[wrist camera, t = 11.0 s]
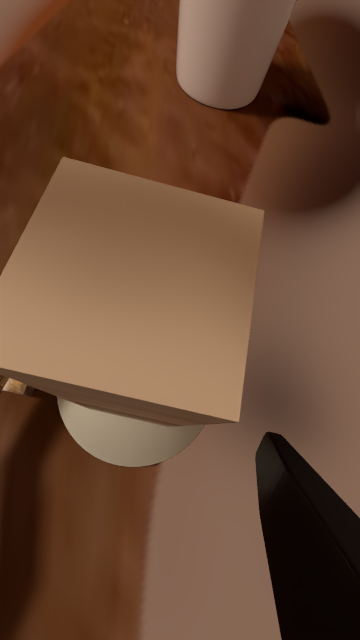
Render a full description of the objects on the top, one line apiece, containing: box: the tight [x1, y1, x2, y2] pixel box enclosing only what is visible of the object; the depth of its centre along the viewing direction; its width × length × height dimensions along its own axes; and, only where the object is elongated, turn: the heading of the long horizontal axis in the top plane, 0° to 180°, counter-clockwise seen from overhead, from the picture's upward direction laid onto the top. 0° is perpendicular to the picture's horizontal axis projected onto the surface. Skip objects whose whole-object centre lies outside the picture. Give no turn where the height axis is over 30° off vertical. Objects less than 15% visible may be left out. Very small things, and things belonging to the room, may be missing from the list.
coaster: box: [57, 397, 205, 467], centre depth 16 cm, size 9×9×1 cm
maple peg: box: [0, 157, 264, 427], centre depth 11 cm, size 4×4×12 cm
